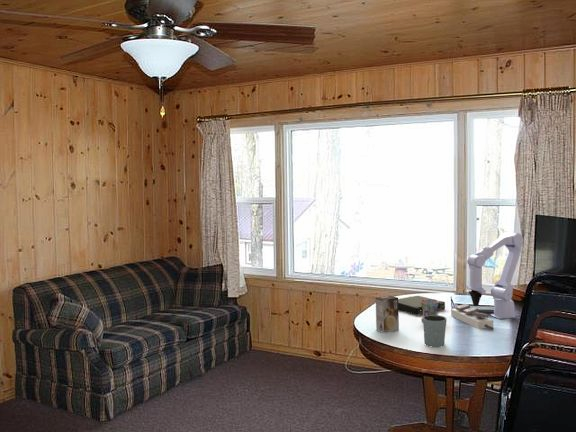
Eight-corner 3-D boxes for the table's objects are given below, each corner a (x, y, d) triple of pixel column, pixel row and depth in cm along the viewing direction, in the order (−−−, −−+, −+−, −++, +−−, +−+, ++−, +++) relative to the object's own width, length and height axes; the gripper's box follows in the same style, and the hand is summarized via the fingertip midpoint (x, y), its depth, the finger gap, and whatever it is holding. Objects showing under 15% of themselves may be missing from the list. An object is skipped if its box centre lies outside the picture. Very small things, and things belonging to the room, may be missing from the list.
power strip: (465, 314, 301) (465, 307, 301) (499, 330, 271) (499, 322, 270) (451, 315, 300) (451, 308, 299) (484, 331, 269) (484, 323, 269)
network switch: (421, 317, 299) (421, 308, 299) (387, 309, 318) (387, 300, 317) (448, 309, 314) (448, 300, 314) (414, 302, 332) (414, 294, 332)
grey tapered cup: (431, 339, 259) (431, 313, 258) (451, 344, 251) (451, 317, 250) (418, 344, 252) (418, 317, 251) (437, 349, 245) (437, 322, 244)
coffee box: (391, 327, 281) (390, 295, 279) (399, 330, 275) (398, 297, 274) (375, 330, 276) (375, 297, 275) (383, 333, 271) (383, 299, 270)
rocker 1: (466, 306, 298) (465, 303, 298) (470, 307, 294) (469, 305, 294) (455, 309, 297) (455, 306, 296) (459, 311, 293) (459, 308, 292)
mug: (438, 324, 283) (437, 303, 282) (419, 323, 287) (418, 302, 286) (441, 318, 294) (441, 298, 293) (422, 317, 298) (422, 297, 297)
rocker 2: (474, 309, 290) (473, 306, 290) (478, 311, 286) (478, 308, 286) (463, 313, 289) (463, 310, 289) (468, 314, 285) (467, 312, 285)
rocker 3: (483, 315, 282) (483, 313, 282) (487, 317, 278) (488, 314, 278) (472, 314, 281) (473, 311, 281) (476, 316, 277) (477, 313, 277)
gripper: (461, 276, 293) (461, 302, 294) (476, 282, 279) (476, 309, 280) (473, 275, 294) (473, 301, 295) (489, 281, 280) (489, 308, 281)
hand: (475, 305), depth 288 cm, fingers closed
